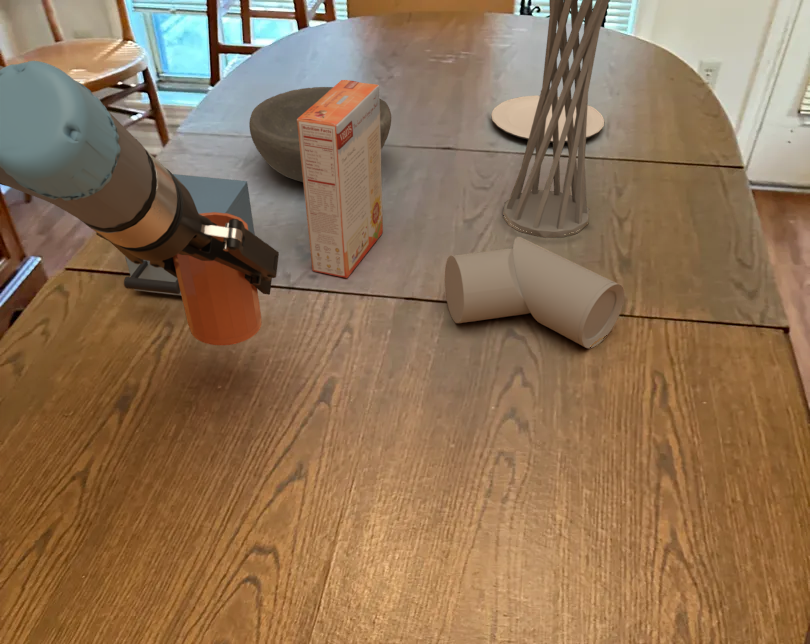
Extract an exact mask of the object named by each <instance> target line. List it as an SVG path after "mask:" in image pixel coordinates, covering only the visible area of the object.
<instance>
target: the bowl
mask: <svg viewBox="0 0 810 644" xmlns="http://www.w3.org/2000/svg"><path fill="white" fill-rule="evenodd" d="M333 87H334V86H314V87H305V88H304V87H303V88H298V89H293V90H289V91H285V92H282V93H281V92H280V93H278V94H276V95H273V96H270V97H269V98H266V99H265V100H263V101H262V102H260V103H259V104H257V105H256V106H255V107H254V109H252V111H251V114H250V118H249V122H248V123H249V133H250V137H251V140H252V142H253V145H254V146H255V149H256V150H257V152H258V153H259V155H260V156H261V157H262V159H263V160H264V161H265V162H266V164H267V165H269V166H270V167H271V168H272V169H273V170H275V171H276V172H278V173H279V174H281V176H284V177H286V178H288V179H291V180H293V181H297V182H301V183H303V175H302V165H301V155H300V146H299V136H298V127H297V119H298V118H299V117H300V116H301V115H302V114H303V113H304V112H306V111H307V110H308V109H309V108H310V107H311V106H313V105H314V104H315V103H316V102H317V101H318V100H319V99H321V98H322V97H323V96H324V95H325V94H326V93H327V92H328V91H330V90H331V89H332V88H333ZM379 99H380V136H381V150H383V147H384V145H385V143H386V141H387V139H388V136H389V133H390V130H391V126H392V113H391V110H390V107H389V104H388V103H387V102H386V101H385V100H383V99H382V98H380V97H379Z"/></svg>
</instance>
